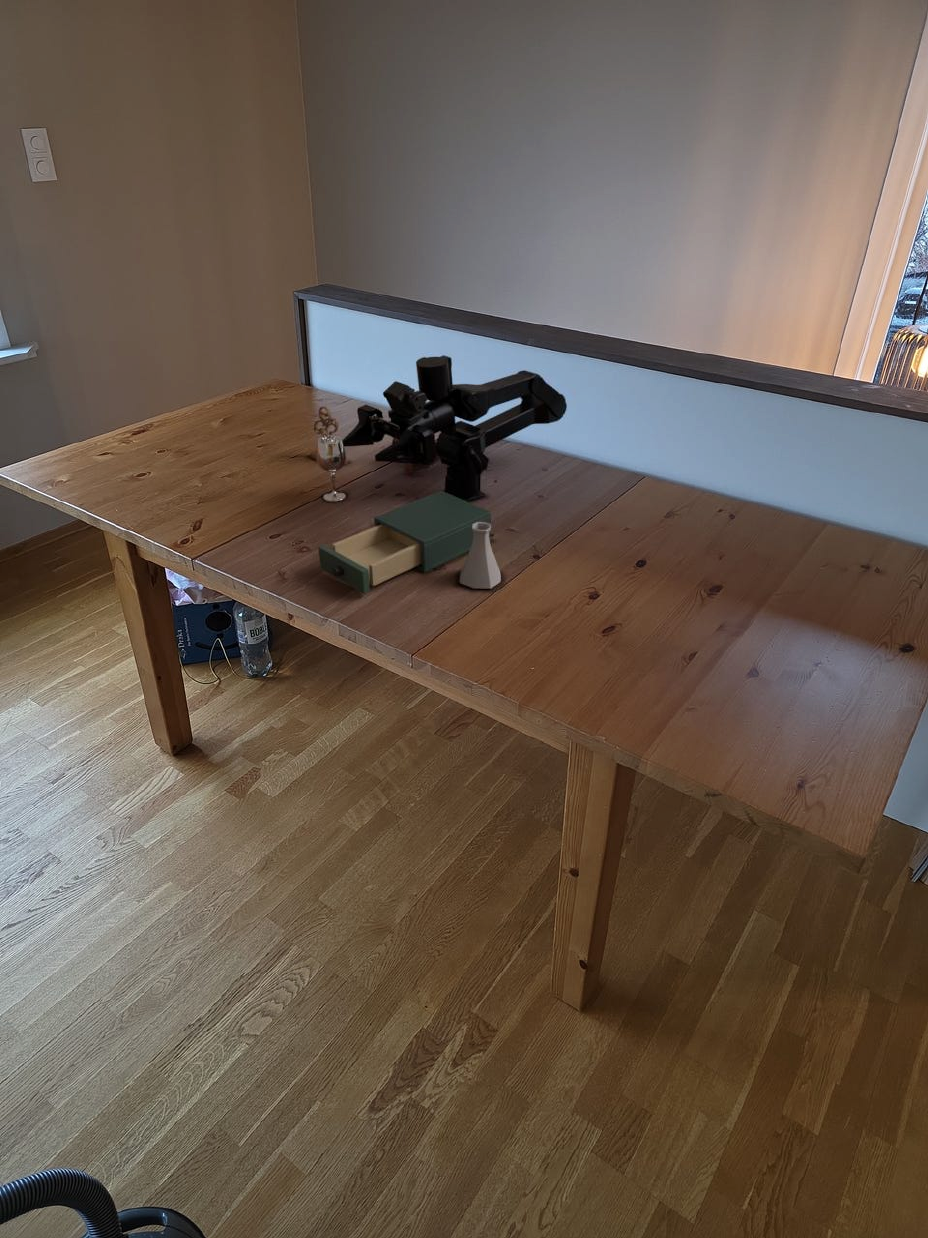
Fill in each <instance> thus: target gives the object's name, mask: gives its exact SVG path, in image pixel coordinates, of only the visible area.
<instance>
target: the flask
mask: <svg viewBox="0 0 928 1238" xmlns="http://www.w3.org/2000/svg"><path fill="white" fill-rule="evenodd" d="M490 530H492V523H491V524H488V523H486V522H476V523H474V524H473V525H472V531H473V532H474V536H473V541H472V546H471V548H470V551H469V552H468V554H467V557H466V559H465V561H464V564H463V566H462V568H461V571H460V573H459V584H462V585H464V586H467V587H469V588H472V589H483V590H484V589H489V590H490V589H493V588H494V587H496V586H497V585H498V584H500V583H501V582H502V578H501V571H500V568H499V565H498V562H497V560H496V558H495V554H494V552H493V549H492V546H491V539H490V540H489V531H490Z"/></svg>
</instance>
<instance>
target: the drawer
mask: <svg viewBox="0 0 928 1238" xmlns="http://www.w3.org/2000/svg"><path fill="white" fill-rule="evenodd" d="M421 545H422V544H420V543H418V542H416V541H414V540H412V539H410V538H408V537H406V536H404V535H402V534H400V533H398V532H396V531H394V530H392V529H390V528H388V527H386V526H384V525H382V524H380V525H377V526H375V525H374V526H373V527H370V528H368V529H366V530H362V531H361V532H358V533H356V534H353V535H350V536H349V537H345V538H343V539H341V540H339V541H336V542H333V543H332V544H331V547H332V548H331V547H329V546H327V545H325V544H322V545H320V546H318V548H317V550H318V558H319V567H320V568H319V569H321V570H323V571H324V572H325V573H327V574H329V575H331V576H332V577H334V578H335V579H338V580H339V581H340V582H343V583H344V584H346V585H348V587H351V588H353V589H354V590H356V591H357V592H360V593H361V594H363V595H366V594H368V593H370V592H371V588H370V586H371V587H375V586H377V585H380V584H381V583H383V582H386V581H388V580H390V579H392V578H394V577H396V576H398V575H401V574H402V573H405V572H408V571H409V570H412V569H413V568H415V566H418V565H420V564H422V546H421Z"/></svg>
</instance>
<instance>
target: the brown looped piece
mask: <svg viewBox="0 0 928 1238" xmlns="http://www.w3.org/2000/svg"><path fill="white" fill-rule="evenodd" d="M323 409H324V410H325V411H326V412H325V411H323ZM318 417H319V420H316V421H315V422H314V425H313V430H314V433H315V434H316V435H321V437H324V436H333V434H335V433H336V432H337V431H338V430H339V421H338V420H337V418H332V414H331V411H330V409H329V407H327V406H320V407H319V409H318ZM319 423H321V425H322V427H320V426H318V424H319ZM330 426H333V427H334V430H333V431H332V430H330V431H329V428H330ZM309 456H310V458H312V459H314V460H316V461H317V459H316V450H314V451H311V452H310V453H309ZM348 463H349V459H348V458H347V457H346V462H345V465H347V464H348Z"/></svg>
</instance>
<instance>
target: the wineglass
mask: <svg viewBox="0 0 928 1238" xmlns="http://www.w3.org/2000/svg"><path fill="white" fill-rule="evenodd" d="M342 440H343V439H342V437H340V436H337V435H332V436H329V435H328V436H325V435H324V437H322V436H321V437H319V438H317V441H316V448H315V451H316V459H317V460H316V459H315V460H316V463H317V465H318V466H319V468H320V469H321V470H323V471H326V472H328V473H329V472H330V475H329V477H330V479H331V480H330V481H331V484H332V491H329V492H327V493H325V494H323V499H324V500H325V501H328V502H339V501H343V500H344V499H346V498H347V497H346V493H344V492H343V491H342V492H341V491H337V490H336V485H335V484H336V482H335V481H336V473H335V472H338V471H340V470H342V469H343V468H344V467H345V465H346V464H345V462H346V458H347V453H346V449H345V447H344V446H343V443H342Z"/></svg>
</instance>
